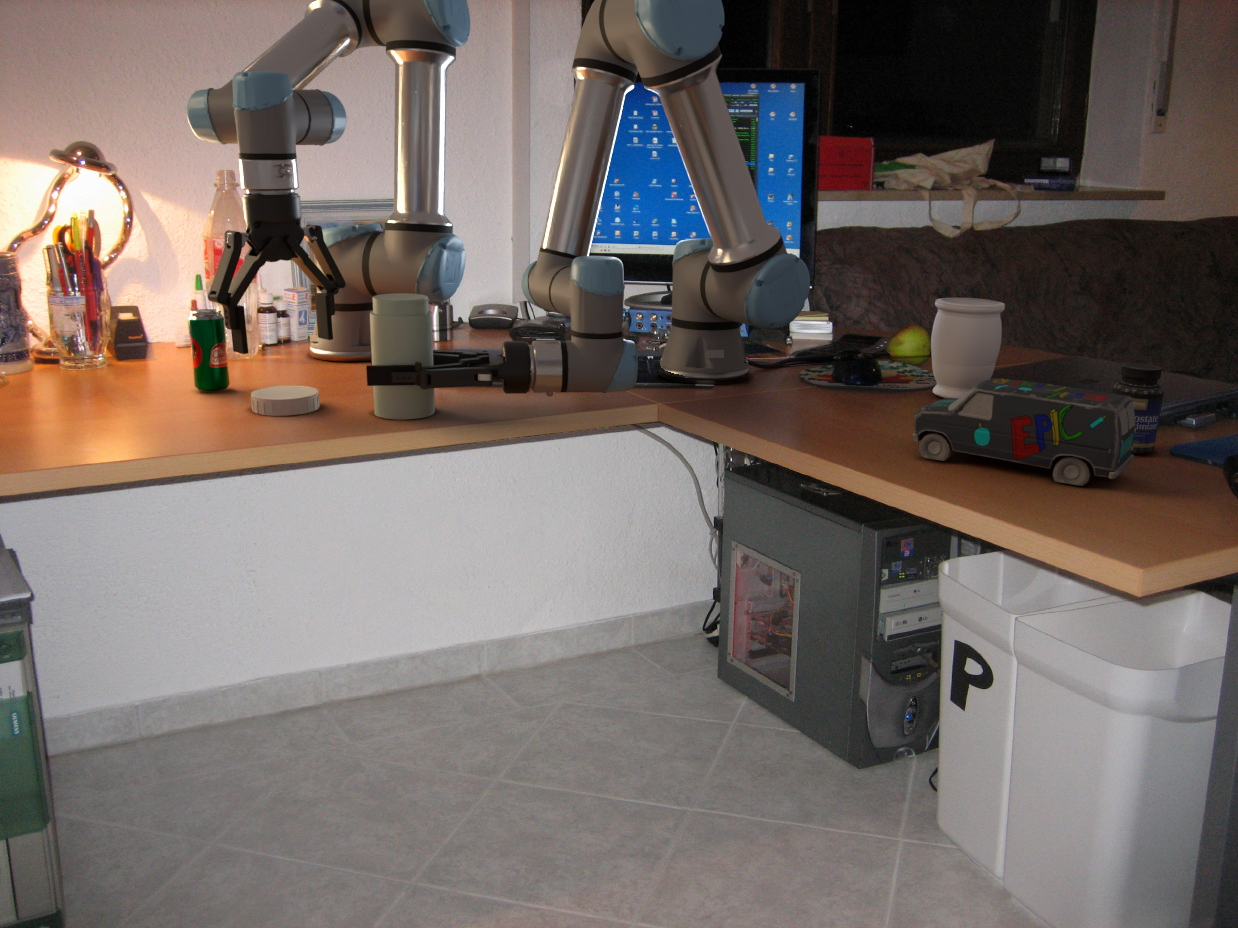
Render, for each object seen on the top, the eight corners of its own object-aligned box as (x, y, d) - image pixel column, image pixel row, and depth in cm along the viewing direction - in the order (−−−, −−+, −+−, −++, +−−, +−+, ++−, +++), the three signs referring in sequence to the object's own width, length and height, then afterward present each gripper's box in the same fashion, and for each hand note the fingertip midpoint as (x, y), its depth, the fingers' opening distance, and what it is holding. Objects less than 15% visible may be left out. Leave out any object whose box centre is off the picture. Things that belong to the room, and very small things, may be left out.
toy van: (935, 438, 144) (942, 365, 141) (1133, 472, 130) (1146, 392, 127) (905, 455, 135) (913, 378, 133) (1114, 493, 122) (1127, 408, 119)
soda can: (218, 393, 162) (211, 314, 158) (188, 391, 163) (180, 312, 159) (236, 386, 166) (230, 309, 163) (207, 384, 167) (200, 308, 164)
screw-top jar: (429, 420, 149) (425, 301, 144) (368, 419, 149) (362, 300, 144) (439, 406, 157) (435, 293, 152) (381, 405, 157) (376, 292, 152)
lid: (299, 398, 161) (298, 382, 160) (332, 409, 154) (331, 393, 153) (239, 407, 154) (238, 391, 153) (271, 419, 148) (270, 402, 147)
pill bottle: (1117, 454, 138) (1130, 370, 135) (1094, 442, 144) (1106, 361, 140) (1163, 454, 138) (1177, 370, 135) (1139, 442, 144) (1152, 361, 141)
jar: (912, 390, 173) (921, 298, 169) (962, 386, 177) (972, 295, 173) (956, 405, 163) (966, 307, 159) (1008, 400, 167) (1020, 304, 163)
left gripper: (198, 197, 134) (216, 363, 141) (363, 189, 152) (372, 336, 159) (169, 194, 139) (188, 354, 146) (333, 187, 157) (343, 329, 163)
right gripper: (535, 409, 145) (365, 412, 141) (524, 377, 165) (375, 379, 162) (535, 355, 143) (362, 356, 139) (524, 329, 163) (372, 330, 160)
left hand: (284, 345), depth 152 cm, fingers open, 13 cm apart
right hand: (369, 369), depth 150 cm, fingers closed on screw-top jar, 8 cm apart
